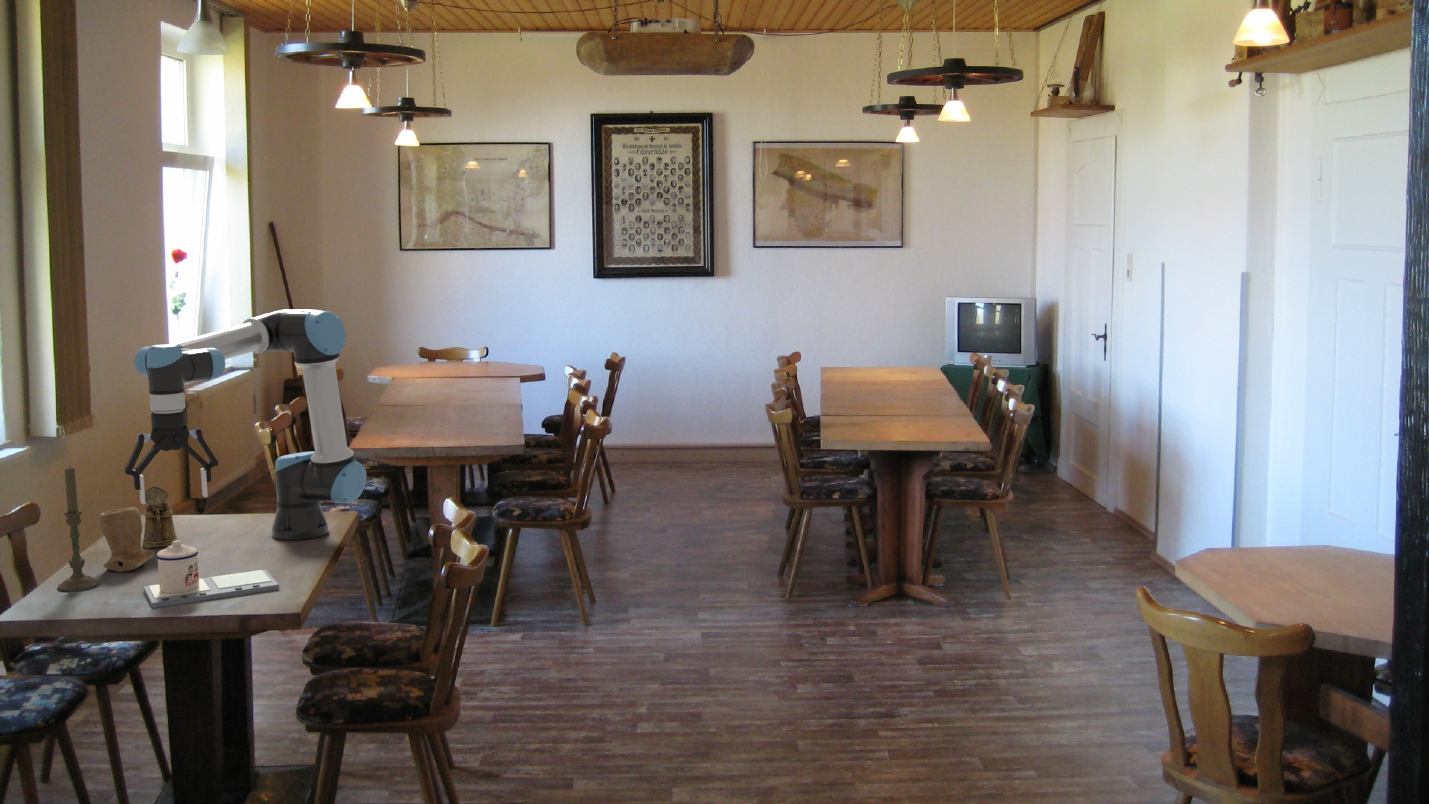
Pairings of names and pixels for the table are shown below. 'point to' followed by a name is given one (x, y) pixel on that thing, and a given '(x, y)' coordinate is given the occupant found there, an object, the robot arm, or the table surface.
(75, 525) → the candlestick holder
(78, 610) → the table surface
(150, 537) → the wooden mug
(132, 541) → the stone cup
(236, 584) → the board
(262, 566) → the table surface
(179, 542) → the teacup with lid
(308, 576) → the table surface
